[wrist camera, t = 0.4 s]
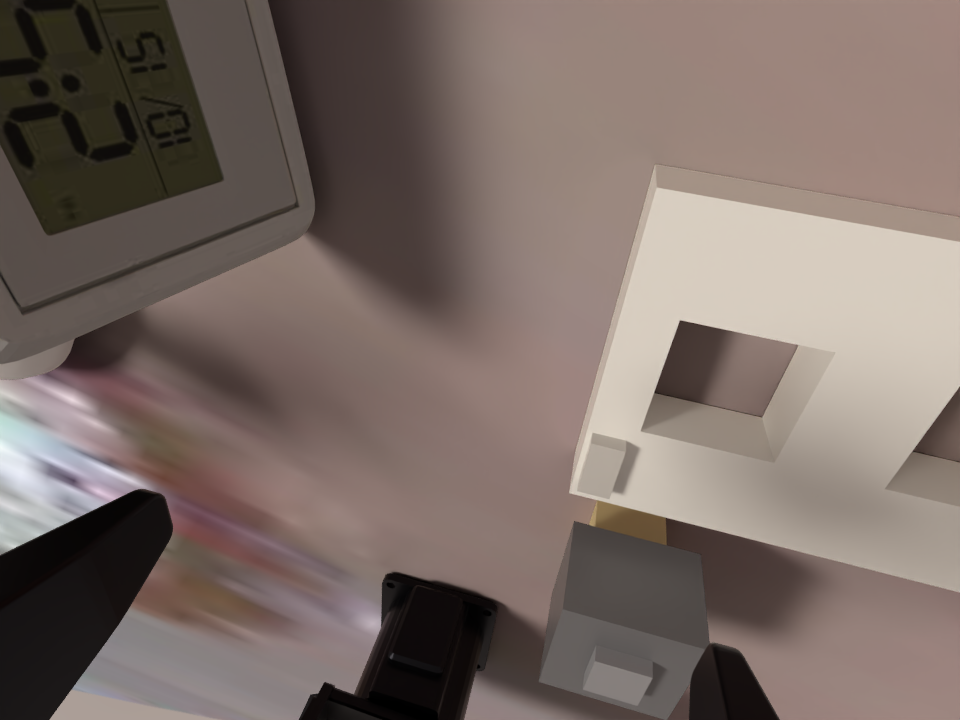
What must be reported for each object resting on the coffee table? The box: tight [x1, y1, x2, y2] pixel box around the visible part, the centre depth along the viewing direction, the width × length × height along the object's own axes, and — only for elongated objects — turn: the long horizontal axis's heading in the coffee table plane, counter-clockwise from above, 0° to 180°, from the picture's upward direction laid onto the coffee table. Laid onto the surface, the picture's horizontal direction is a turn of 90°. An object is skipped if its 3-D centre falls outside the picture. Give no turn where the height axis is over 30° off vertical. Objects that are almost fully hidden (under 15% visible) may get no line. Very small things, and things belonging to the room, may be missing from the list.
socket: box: [569, 164, 960, 592], centre depth 19 cm, size 12×16×3 cm
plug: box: [539, 500, 710, 720], centre depth 23 cm, size 5×5×7 cm
